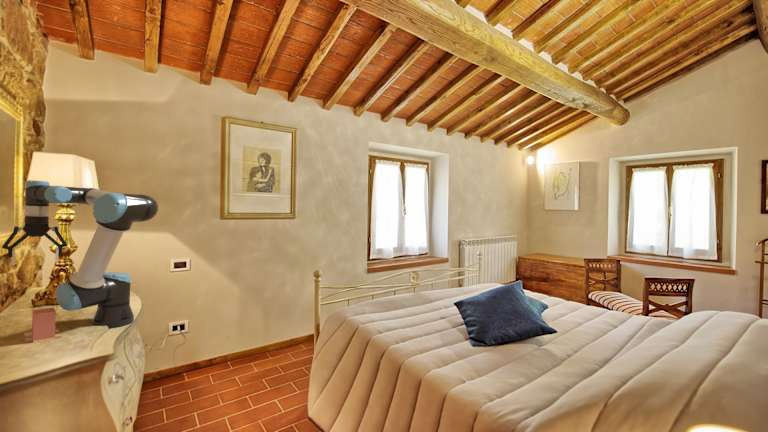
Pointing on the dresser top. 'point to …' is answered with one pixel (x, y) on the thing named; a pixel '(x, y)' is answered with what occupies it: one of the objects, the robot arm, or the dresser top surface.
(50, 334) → the sanding block
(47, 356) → the dresser top surface
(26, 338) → the board
